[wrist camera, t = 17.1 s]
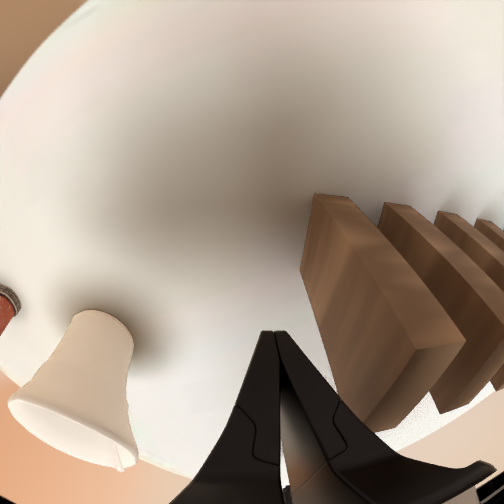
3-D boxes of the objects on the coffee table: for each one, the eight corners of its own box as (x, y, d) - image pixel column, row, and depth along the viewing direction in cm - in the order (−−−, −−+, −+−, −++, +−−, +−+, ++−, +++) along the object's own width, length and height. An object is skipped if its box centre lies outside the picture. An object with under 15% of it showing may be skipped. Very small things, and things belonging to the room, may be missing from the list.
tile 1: (347, 197, 16) (466, 340, 6) (329, 271, 18) (395, 427, 9) (314, 193, 15) (415, 349, 6) (299, 270, 18) (350, 437, 8)
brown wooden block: (457, 214, 16) (563, 313, 7) (434, 274, 19) (513, 382, 9) (438, 210, 16) (551, 317, 7) (415, 273, 19) (496, 391, 9)
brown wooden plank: (410, 206, 16) (530, 324, 7) (388, 273, 19) (468, 403, 9) (384, 202, 16) (508, 331, 6) (363, 272, 18) (439, 414, 9)
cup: (107, 376, 23) (83, 469, 14) (39, 306, 19) (-14, 402, 10) (184, 358, 22) (171, 475, 13) (110, 270, 17) (47, 401, 9)
